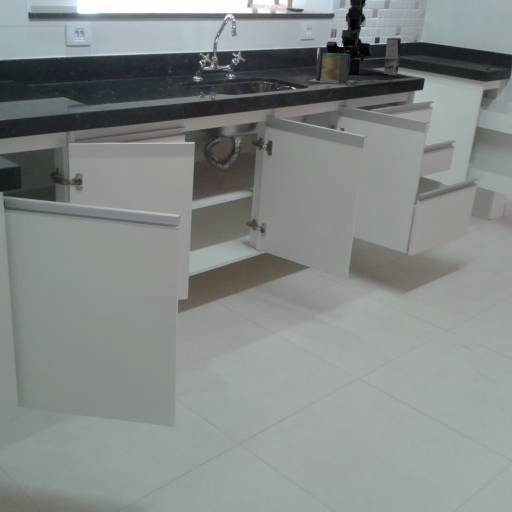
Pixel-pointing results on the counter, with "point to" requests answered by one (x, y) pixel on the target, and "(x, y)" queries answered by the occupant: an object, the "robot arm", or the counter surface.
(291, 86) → the counter surface
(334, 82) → the gate mat
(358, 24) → the robot arm
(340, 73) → the gate frame
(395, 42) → the coffee box
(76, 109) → the counter surface
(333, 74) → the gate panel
